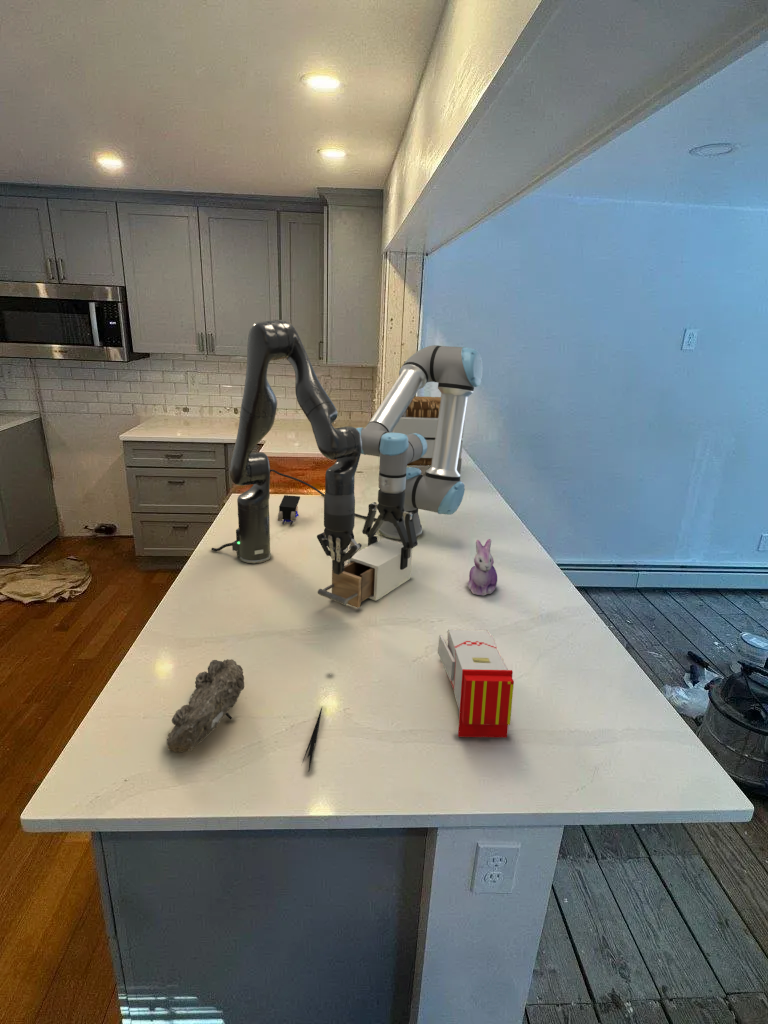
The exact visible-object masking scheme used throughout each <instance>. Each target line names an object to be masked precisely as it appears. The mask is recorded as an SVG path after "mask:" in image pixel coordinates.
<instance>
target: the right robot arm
mask: <svg viewBox="0 0 768 1024" xmlns="http://www.w3.org/2000/svg"><path fill="white" fill-rule="evenodd" d="M483 375H484V365H483V359H482V356H481V353H480V352H479V350H477V349H476V348H471V347H466V346H449V345H435V344H434V345H428V346H425V347H423V348H421V349H419V350H418V351H416V352H414V353H413V354H412V355H410V357H408V358H407V359H406V361H405V362H403V364H402V365H401V367H400V368H399V371H398V377H397V379H396V380H395V382H394V383H393V385H392V386H391V388H390V389H389V390H388V392H387V394H386V396H385V397H384V399H383V400H382V402H381V403H380V405H379V407H378V408H377V409H376V410H375V413H374V414H373V415H372V417H371V419H370V420H369V421H368V423H367V424H366V426H365V427H355V428H356V429H357V430H358V431H359V433H360V435H361V438H362V451H361V455H364V456H372V457H379V465H378V467H379V471H378V490H377V502H375V501H374V502H372V503H369V504H368V506H367V507H368V508H367V509H368V512H367V514H366V515H362V514H359V513H355V517H357V518H360V519H365V521H364V524H363V528H362V530H361V533H362V534H363V535H366V536H367V546H369V545H371V544H373V543H375V542H377V541H378V536H377V532H378V533H379V534H380V535H381V536H382V537H383V538H386V539H389V540H394V541H401V543H402V544H403V546H404V547H402V548H401V562H400V569H401V570H403V569H405V568H406V567H407V565H408V558H410V555H411V548H412V549H414V548H415V547H417V546H418V538H420V537H421V536H422V535H423V525H422V524H421V518H420V515H419V510H421V511H427V512H432V513H437V514H439V515H446V516H447V515H448V516H450V515H453V514H455V513H456V512H457V510H458V509H459V508H460V506H461V504H462V502H463V499H464V495H465V489H466V488H465V483H464V482H463V481H462V480H461V474H459V473H458V471H457V465H458V458H459V452H460V445H461V440H462V439H463V438H462V432H463V425H464V426H465V421H464V420H465V418H466V412H467V405H468V400H469V399H468V398H469V397H470V396H472V394H474V392H475V391H474V390H475V388H477V387H479V386H480V385H481V383H482V379H483ZM428 383H438V384H437V390H438V391H439V392H440V397H441V401H440V408H439V415H438V422H437V429H436V436H435V443H434V450H433V457H432V464H431V465H430V466H429V468H427V469H426V470H425V474H422V470H421V468H419V467H415V466H411V467H410V466H407V464H409V463H411V462H413V461H416V460H418V459H420V458H421V457H422V456H424V454H425V453H426V451H427V442H426V440H425V438H424V437H423V436H422V435H420V434H417V433H414V434H412V433H411V434H408V435H405V434H402V433H392V431H393V430H394V428H395V427H396V425H397V423H398V422H399V420H400V419H401V417H402V415H403V414H404V412H405V411H406V409H407V407H408V406H409V404H410V403H411V401H412V399H413V398H414V396H415V397H416V394H418V392H419V390H421V389H424V387H425V386H426V384H428ZM463 433H464V432H463ZM271 472H273V473H275V474H277V475H279V476H282V477H284V478H288V479H291V480H293V481H296V482H299V483H301V484H303V485H305V486H308V487H309V488H311V489H313V490H314V491H315V492H317V493H318V494H320V495H321V496H322V497H325V493H324V492H322V491H320V490H319V489H318V488H317V487H315V486H313V485H311V484H309V483H308V482H306V481H304V480H301V479H299V478H296V477H294V476H290V475H289V474H284V473H281V472H278V471H277V470H276V469H273V468H270V473H271ZM377 512H378V514H379V515H378V516H377V518H376V514H377ZM374 521H375V522H374Z"/></svg>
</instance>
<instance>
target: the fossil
mask: <svg viewBox="0 0 768 1024" xmlns="http://www.w3.org/2000/svg"><path fill="white" fill-rule="evenodd" d="M243 670H244V669H243V667H242V665H240V664H237V662H236V661H235V660H234V659H232V658H231V659H227V658H226V659H224V660H223V661H222V660H217V659H212V660H211V661H210V663H209V665H208V666H207V671H201V672H199V673H198V674H197V675H196V676H195V680H194V684H195V685H194V687H195V689H194V690H193V693H192V694H191V697H190V698H189V700H188V704H184V705H182V706H181V707H180V709H177V710H176V711H175V713H174V715H173V716H172V718H171V723H172V724H173V727H172V730H171V731H170V732H168V734H167V738H166V741H167V742H166V745H167V749H168V750H169V751H173V752H174V753H176V754H178V753H182V752H188V751H189V752H192V751H193V750H195V748H196V747H197V746H199V744H200V743H201V742H203V741H204V740H205V739H206V738H207V737H208V736H209V735H210V734H211V733H212V732H214V730H215V729H217V727H218V726H219V724H220V722H221V721H222V720H223V719H224V718H225V716H226V717H227V719H229V720H233V717H232V715H230V714H229V710H230V709H231V708H234V706H235V704H236V703H237V702H238V699H239V697H240V695H241V693H242V691H243V690H245V689H244V688H245V675H244V671H243Z"/></svg>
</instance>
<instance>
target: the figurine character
mask: <svg viewBox="0 0 768 1024" xmlns="http://www.w3.org/2000/svg"><path fill="white" fill-rule="evenodd" d="M300 499H301V495H287V494H284V495H283V497H282V500H281V502H280V504H279V506H278V514H277V521H279V522H282V523H281V525H283V526H284V525H285V524H286V523H290V524H289V525H290V526H292V525H293V523H294V522H295V521H296V519H297V517H299V513H298V511H299V507H298V504H299V502H300Z"/></svg>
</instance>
